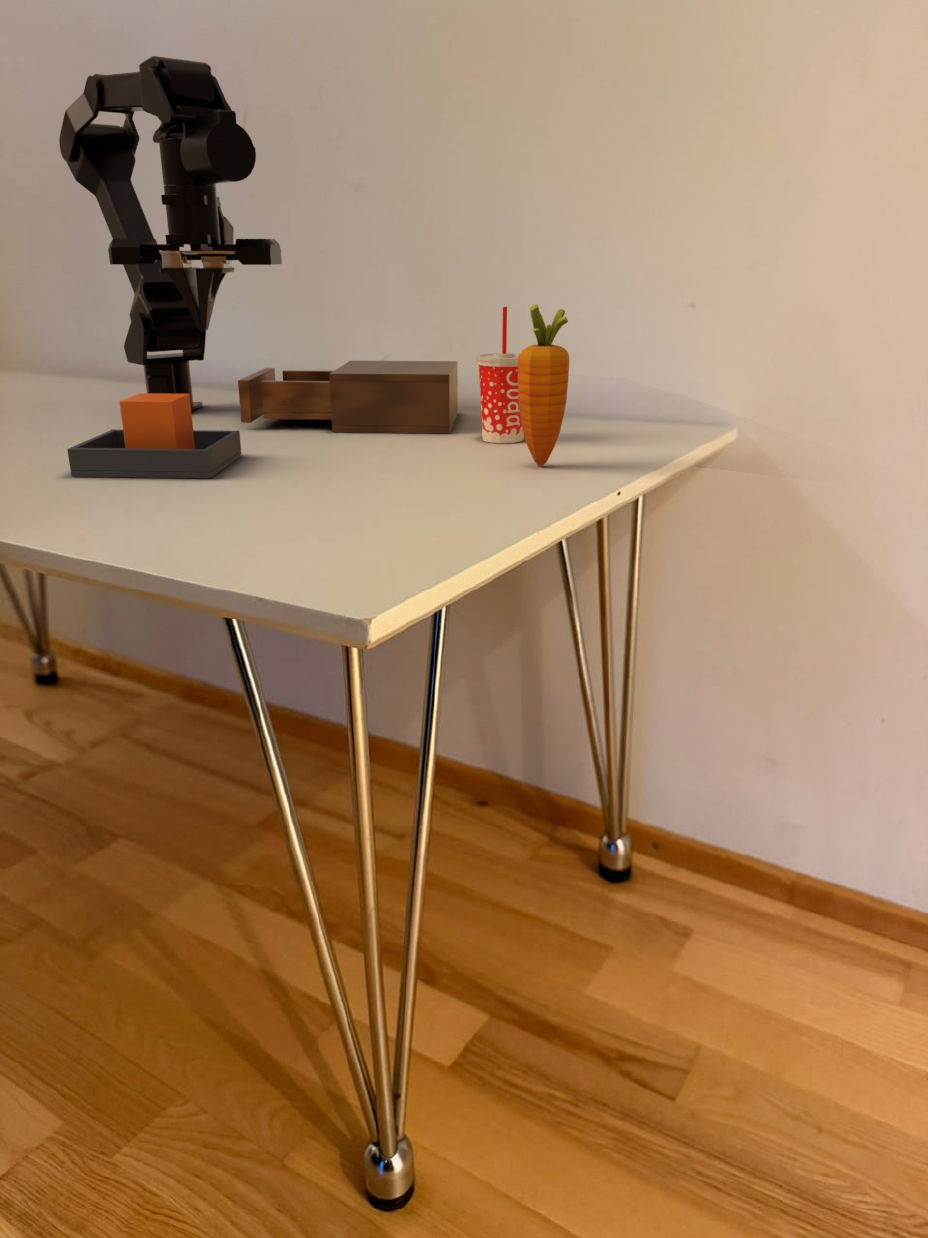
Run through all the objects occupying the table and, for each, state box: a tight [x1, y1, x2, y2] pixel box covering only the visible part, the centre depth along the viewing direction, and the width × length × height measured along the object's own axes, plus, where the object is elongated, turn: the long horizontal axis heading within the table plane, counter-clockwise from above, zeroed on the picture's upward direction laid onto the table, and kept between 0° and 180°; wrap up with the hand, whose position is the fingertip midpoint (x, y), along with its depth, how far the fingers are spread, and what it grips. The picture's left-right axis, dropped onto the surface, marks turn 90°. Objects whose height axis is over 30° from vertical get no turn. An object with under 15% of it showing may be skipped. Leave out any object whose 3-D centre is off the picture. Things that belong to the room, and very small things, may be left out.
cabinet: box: [329, 360, 459, 434], centre depth 114 cm, size 14×14×7 cm
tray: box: [66, 428, 243, 479], centre depth 92 cm, size 10×13×3 cm
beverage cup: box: [475, 306, 525, 444], centre depth 103 cm, size 6×6×14 cm
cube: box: [119, 392, 195, 449], centre depth 91 cm, size 5×5×6 cm
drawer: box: [237, 367, 334, 424], centre depth 115 cm, size 14×12×5 cm
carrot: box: [518, 304, 570, 468], centre depth 89 cm, size 5×5×15 cm
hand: (203, 329), depth 113 cm, fingers closed
